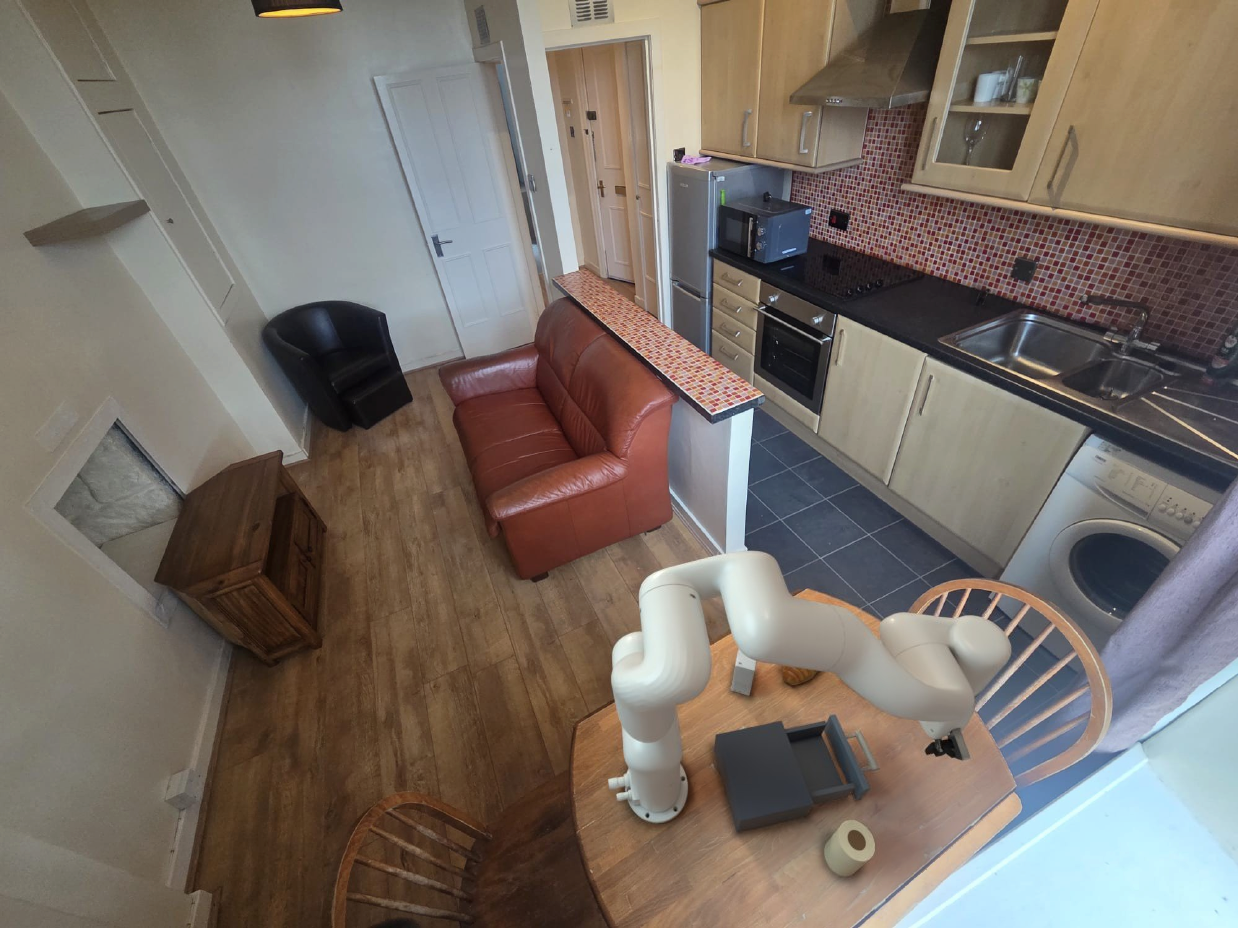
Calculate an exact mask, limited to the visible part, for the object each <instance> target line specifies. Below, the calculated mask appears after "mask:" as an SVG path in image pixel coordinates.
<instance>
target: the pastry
mask: <svg viewBox="0 0 1238 928" xmlns="http://www.w3.org/2000/svg"><path fill="white" fill-rule="evenodd" d="M818 672H819V671H817V670H810V669H804V668H797V667H790V666H784V665H783V668H782V670H781V678H782V680H783V681H784V682H785V683H786V684H789V685H792V686H798V685H801V684H802V683H805V682H808V681H809V680H812V679H813V678H814V676H815V675H816V674H817V673H818Z"/></svg>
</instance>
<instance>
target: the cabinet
mask: <svg viewBox="0 0 1238 928" xmlns="http://www.w3.org/2000/svg"><path fill="white" fill-rule="evenodd" d="M785 729H786V728H785V726H784V724H783V721H782V720H778V721H777V720H776V721H772V722H769V723H764V724H759V725H754V726H749V727H745V728H740V729H736V730H730V731H725V732H722V733H716V734H715V736H714V737H715V738H714V746H713V753H714V757H715V759H716V763H717V767H718V770H719V774H720V778H721V781H722V785H723V789H724V793H725V795H726V798H727V803H728V807H729V809H730V813H731V817H732V820H733V824H734V827H735V832H736V833H742V832H747V831H751V830H752V831H753V830H754V829H755V830H756V829H760V828H765V827H768V826H774V825H777V824H782V823H787V822H791V821H795V820H800V819H804V818H807V816H808V815H809V813H810V811H811V810H812V808H813V806H815V805H814V803H813V801H812V798H811V795H810V793H809V790H808V788H807V785H806V783H805V780H804V777H803V775H802V772H801V770H800V767H799V765H798V762H797V759H796V757H795V754H794V752H793V749H792V747H791V744H790V741H789V739H788V736H787V734H786V731H785Z"/></svg>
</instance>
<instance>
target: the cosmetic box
mask: <svg viewBox="0 0 1238 928" xmlns="http://www.w3.org/2000/svg"><path fill="white" fill-rule="evenodd" d="M757 663H758V661H755V660H753V659H750V658H748V657H747V656H745V655H744V654H743V653H742V652H741V651H740V649H739V648H738V650H737V654H736V659H735V664H734V671H733V678H732V683H731V688H730V690H731V691H732V692H735V693H739V694H742V695H745V696H750V695H751V691H752V686H753V683H754V676H755V674H756V668H757Z"/></svg>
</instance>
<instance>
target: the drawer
mask: <svg viewBox="0 0 1238 928" xmlns="http://www.w3.org/2000/svg"><path fill="white" fill-rule="evenodd" d="M784 729H785V731H786V734H787V736H788V739H789V741H790V744H791V747H792V749H793V752H794V754H795V757H796V759H797V762H798V765H799V767H800V770H801V772H802V775H803V777H804V780H805V783H806V785H807V788H808V790H809V793H810V795H811V798H812V801H813V803H814V805H813V806H818V805H821V804H827V803H830V802H835V801H840V800H844V799H848V798H849V796H850V795H851V794H852V796H853V798H854V800H855V802H858V801H862V799H863V798H864V797H865V796H866V794H867V793H868V792H869V791H870V790H871V787H870V785H869V783H868V781H867V779H866V777H865V774H864V772H869V771H872V772H877V771H879V770H880V769H881V768H880V767H879V765H878V763H877V760H876V758H875V757H874V754H873V752H872V750H871V748H870V746H869V744H868V742H867V740H866V738H865V736H864V734H863V732H862V730H860V729H859V730H856V731H854V732H853V733H848V734H845V732H844V730H843V727H842V725H841V723H840V720H838V717H837V715H836V714H835V713H833V714H830V715H829V716H828V718H827V720H820V721H817V722H812V723H808V724H803V725H798V726H792V727H789V728H784ZM823 733H825V735H826V737H827V740H828V742H829V744H830V746H831V749H832V751H833V753H834V755H835V757H836V760H837V762H838V764H839V766H840V767H839V768H840V769H841V772H842V774H843V776H844V778H845V781H846V782H847V783H846V784H844V783H843V781H842V779H841V777H840V774H839V772H838V769H837V766H836V765H835V763H834V760H833V758H832V756H831V753H830V751H829V749H828V746H827V744H826V742H825V740H824V737H823ZM853 738H856V740H857V741H858V744H859V746H860V749H861V750H862V752H863V754H864V757H865V759H866V761H867V763H868V765H867V766H863V767H861V766H860V764H859V761H858V760H857V757H856V755H855V753H854V751H853V749H852V747H851V745H850V742H849V740H850V739H853Z"/></svg>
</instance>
